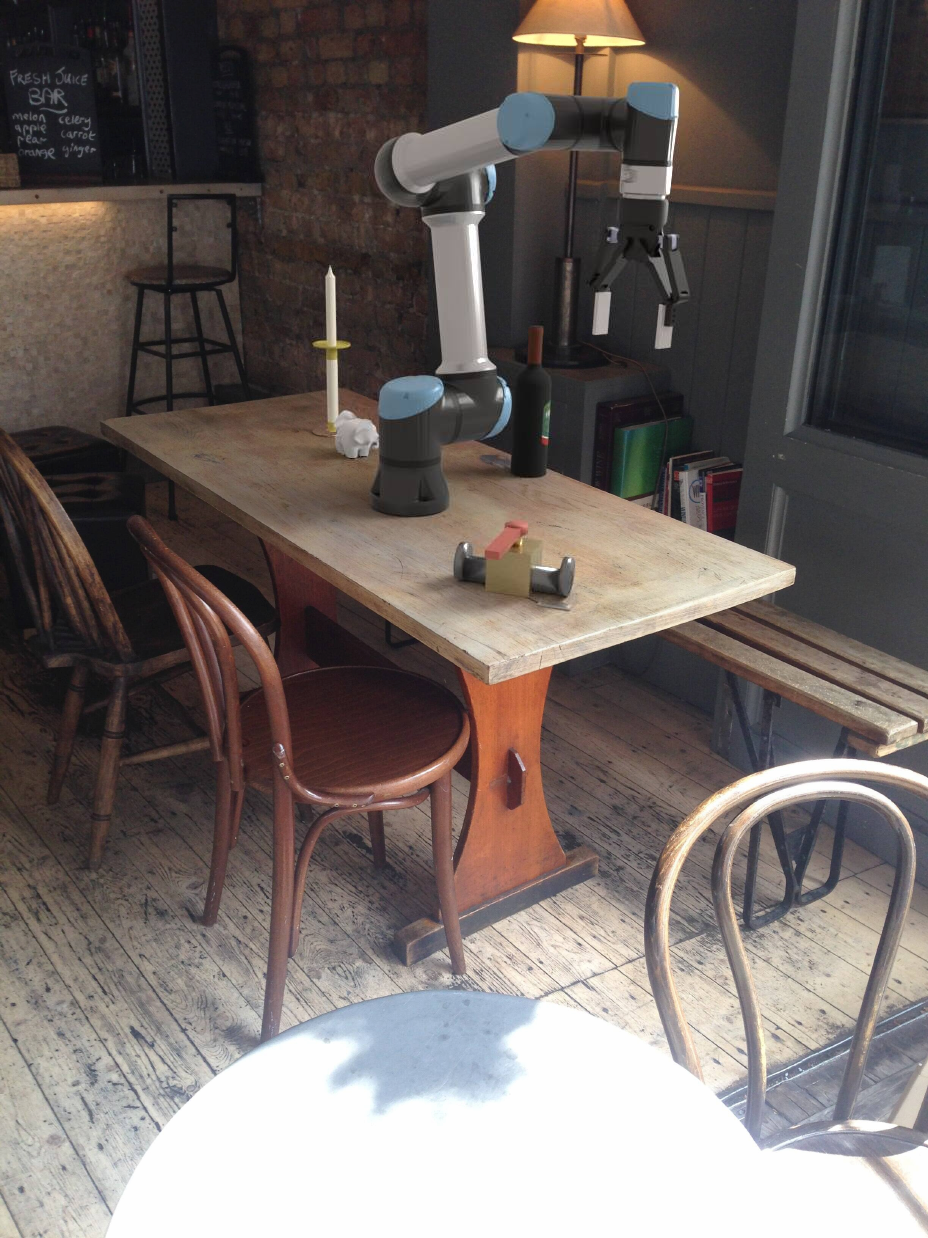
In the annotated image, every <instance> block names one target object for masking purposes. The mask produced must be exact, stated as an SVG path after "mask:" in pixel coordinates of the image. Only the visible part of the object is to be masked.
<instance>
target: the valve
mask: <svg viewBox="0 0 928 1238" xmlns="http://www.w3.org/2000/svg"><path fill="white" fill-rule="evenodd" d="M543 548H544V540H542V539H536V538H535V539H534V538H528V537H523V536H520V537H519V538H518V539H517V540H516V542H515V543H514V544H513V545H512V546H511V547H510V548H509V549H508V551H507V552H506V553H505V554H504V555H503V556H502V557H501V558H500V559H499V560H495V559H488V558H484V556H477V555H474V554H473V553H474V550H473V545H472V543H471V542H469V541H460V542H459V543H458V545H457V547H456V550H455V553H454V557H453V558H454V559H453V570H452V571H453V576H454V579H456V580H460V581H469V582H470V581H471V582H477V583H483V584H485V589H484V591H485V592H489V593H495V594H503V595H508V596H516V597H521V598H527V599H530V597H531V596H532V594H533V593H534V591H535V592H540V593H541V592H542V593H548V594H555V595H559V596H563V597H569V596H570V594H571V592H572V589H573V585H574V580H575V574H576V560H575V558H574V557H571V556H564V557H563V558H562V561H561V564H560V568H559V567H552V566H547V565H543V550H544V549H543ZM536 605H537V606H539V607H547V608H552V609H553V608H554V609H558V610H564V611H565V610H566V611H571V609H572V607H573V604H572V603H571V604H570V603H563V602H558V601H552V600H551V601H550V600H547V599H546V600H545V599H544V600H543V599H539V600H538V602H537V603H536Z"/></svg>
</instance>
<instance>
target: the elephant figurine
mask: <svg viewBox="0 0 928 1238" xmlns="http://www.w3.org/2000/svg"><path fill="white" fill-rule="evenodd" d="M334 427H335V430H336V431H337V434H336V435H333V436H335V437H334V444H335V447H336V450H337V452H338V454H339V453H345V454H346V455H345V456H346V458H347V457H349V458H356V457H357V458H358V456H359V457H361V456H367V457H368V456H369V452H370V449H372V450H377V449H378V450H379V433H378V432H377V427H376V425H374V424H373V423H372V421H371V420H370V419H367V418H363V419H362V418H360V417H359V418H357V416H356V415H355V414H354V413H353V412H351V411H349V410H343V411H341V412H340V413H338V417H337V419H336V421H335V423H334ZM349 458H348V459H349ZM357 458H356V459H357Z"/></svg>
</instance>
